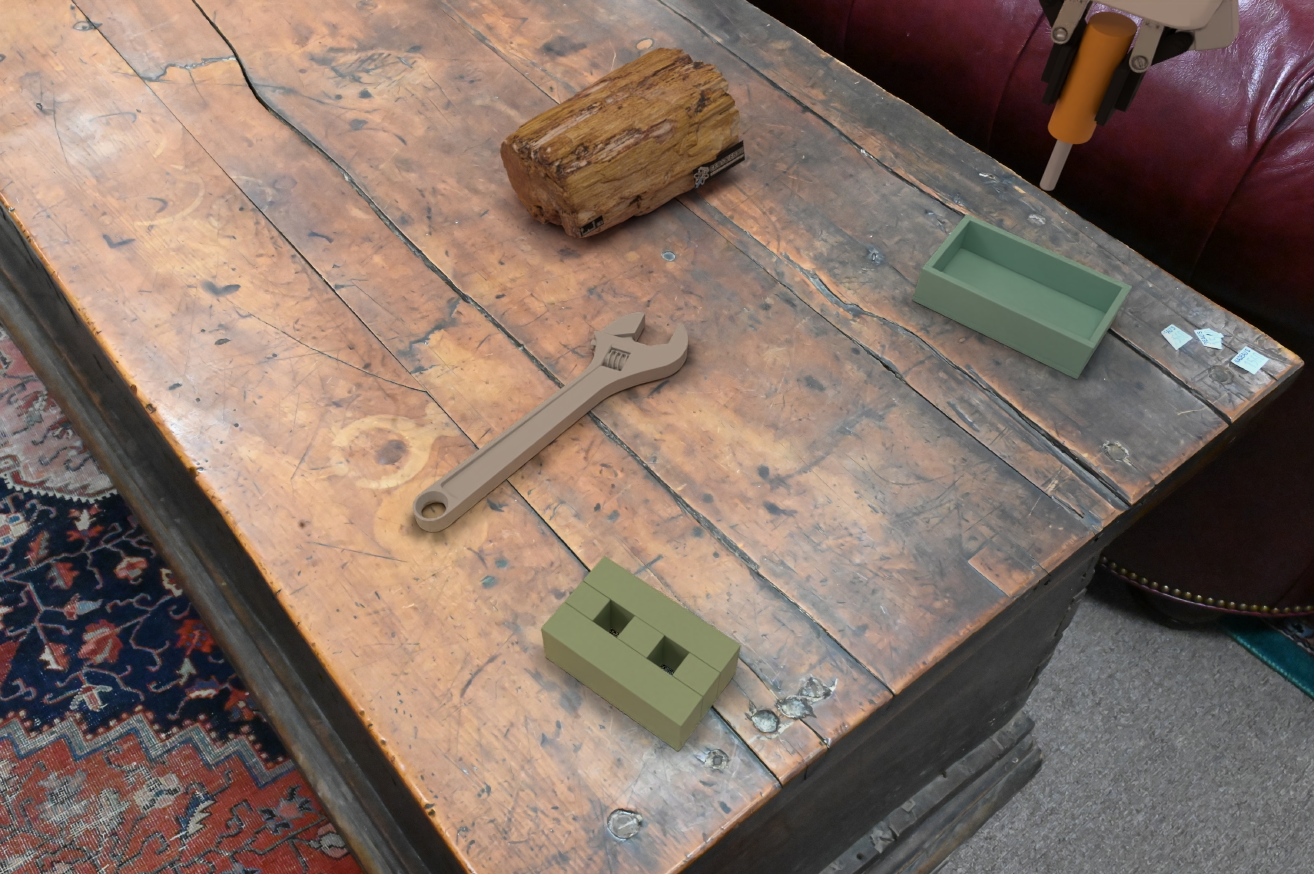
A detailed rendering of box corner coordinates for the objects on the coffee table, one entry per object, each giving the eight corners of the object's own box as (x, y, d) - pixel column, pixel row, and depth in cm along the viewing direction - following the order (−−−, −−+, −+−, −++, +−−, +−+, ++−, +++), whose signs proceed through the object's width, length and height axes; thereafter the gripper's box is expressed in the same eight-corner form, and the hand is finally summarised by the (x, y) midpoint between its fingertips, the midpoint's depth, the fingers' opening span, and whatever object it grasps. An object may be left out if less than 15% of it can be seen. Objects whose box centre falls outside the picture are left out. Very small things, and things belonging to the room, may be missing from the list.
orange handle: (1074, 183, 70) (1144, 21, 60) (1058, 205, 68) (1128, 42, 59) (1035, 168, 71) (1099, 6, 61) (1019, 189, 69) (1082, 26, 60)
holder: (605, 586, 66) (604, 555, 63) (735, 672, 63) (741, 644, 60) (544, 656, 63) (540, 627, 60) (678, 752, 60) (681, 726, 56)
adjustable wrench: (432, 541, 68) (427, 528, 67) (379, 483, 71) (374, 468, 70) (700, 356, 78) (701, 341, 77) (645, 311, 81) (645, 296, 80)
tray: (955, 246, 87) (966, 213, 84) (1115, 318, 82) (1132, 286, 79) (911, 300, 83) (921, 268, 80) (1076, 380, 78) (1093, 348, 75)
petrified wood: (586, 272, 83) (560, 164, 76) (499, 219, 91) (468, 117, 84) (754, 168, 91) (744, 61, 84) (659, 128, 99) (643, 27, 92)
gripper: (1405, -201, 49) (1226, 123, 63) (1083, -281, 54) (986, 35, 69) (1370, -146, 45) (1188, 185, 60) (1027, -237, 50) (938, 86, 65)
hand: (1081, 102), depth 64 cm, fingers closed on orange handle, 2 cm apart
